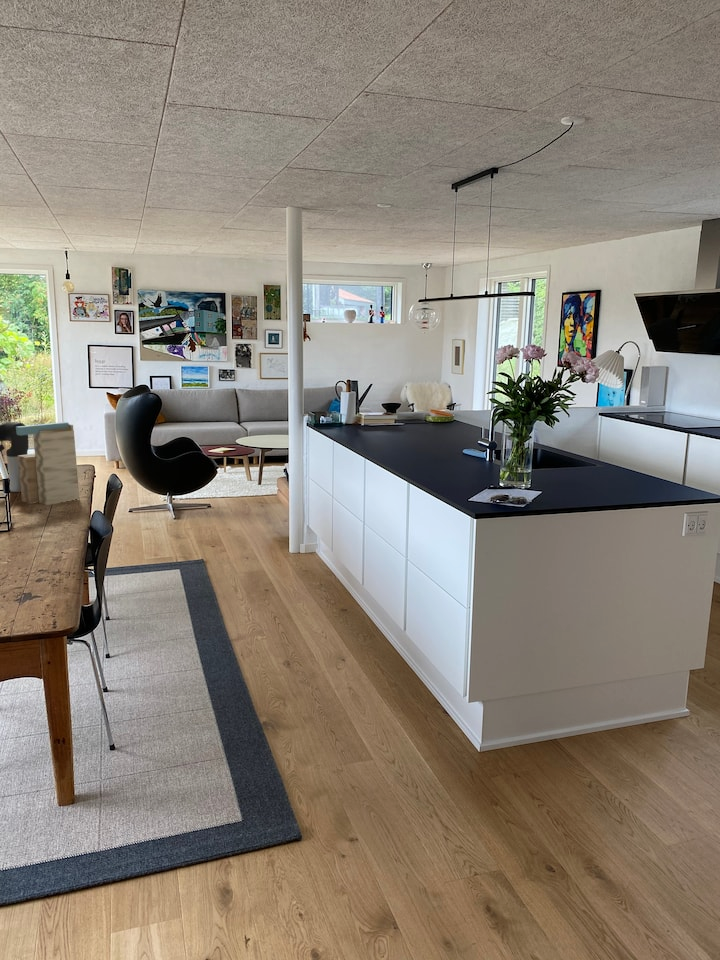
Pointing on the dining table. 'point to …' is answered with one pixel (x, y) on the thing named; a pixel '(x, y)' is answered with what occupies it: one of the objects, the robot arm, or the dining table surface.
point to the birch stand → (56, 465)
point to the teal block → (40, 428)
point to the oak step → (28, 478)
